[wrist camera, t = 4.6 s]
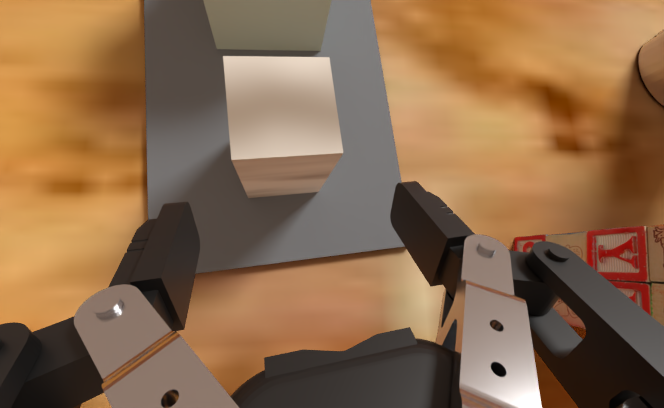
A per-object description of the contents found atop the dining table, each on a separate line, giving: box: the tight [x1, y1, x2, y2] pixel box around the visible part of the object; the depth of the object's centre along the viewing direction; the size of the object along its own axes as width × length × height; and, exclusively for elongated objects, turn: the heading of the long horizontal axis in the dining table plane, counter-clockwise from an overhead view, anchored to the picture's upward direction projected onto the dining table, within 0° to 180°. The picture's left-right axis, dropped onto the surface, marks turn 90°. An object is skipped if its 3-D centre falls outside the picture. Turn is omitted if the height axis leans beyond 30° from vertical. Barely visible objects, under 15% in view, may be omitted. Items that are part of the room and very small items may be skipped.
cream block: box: [223, 56, 343, 198], centre depth 17 cm, size 5×5×8 cm
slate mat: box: [144, 0, 404, 274], centre depth 22 cm, size 28×18×1 cm, turn 7°
